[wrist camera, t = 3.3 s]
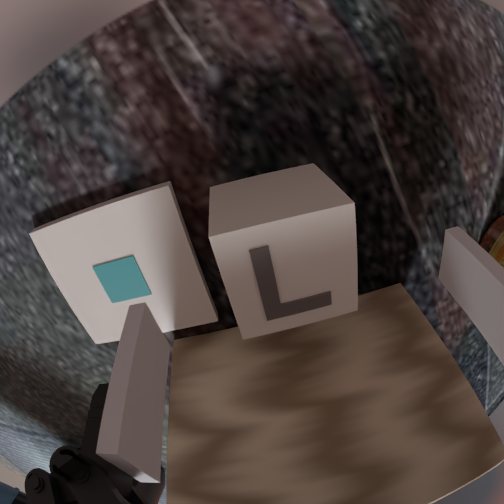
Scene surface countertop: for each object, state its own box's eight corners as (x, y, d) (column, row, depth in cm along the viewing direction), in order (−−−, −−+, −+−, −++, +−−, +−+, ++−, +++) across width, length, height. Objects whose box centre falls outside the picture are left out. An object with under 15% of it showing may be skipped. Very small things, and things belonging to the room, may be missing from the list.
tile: (98, 336, 22) (95, 345, 21) (34, 227, 17) (28, 234, 16) (217, 313, 22) (218, 322, 21) (170, 180, 17) (168, 185, 16)
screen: (200, 385, 26) (208, 558, 13) (174, 339, 23) (168, 553, 9) (393, 335, 26) (469, 486, 12) (400, 282, 23) (509, 456, 9)
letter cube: (234, 272, 21) (243, 341, 15) (209, 186, 17) (208, 238, 12) (325, 249, 21) (360, 311, 15) (314, 162, 17) (357, 203, 12)
